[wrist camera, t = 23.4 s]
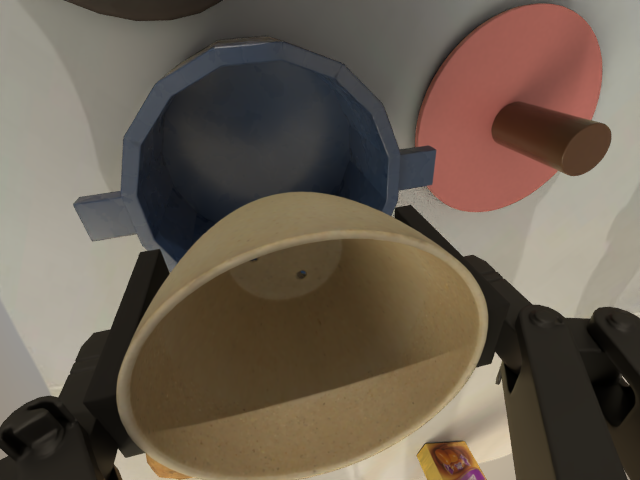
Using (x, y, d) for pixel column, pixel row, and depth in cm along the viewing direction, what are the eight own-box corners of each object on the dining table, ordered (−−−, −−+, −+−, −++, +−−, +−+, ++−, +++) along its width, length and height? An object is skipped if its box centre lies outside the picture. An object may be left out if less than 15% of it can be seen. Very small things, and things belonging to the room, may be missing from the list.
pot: (69, 53, 21) (-10, 67, 14) (392, 24, 24) (459, 24, 17) (154, 258, 30) (131, 331, 22) (384, 217, 33) (427, 270, 26)
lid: (420, 13, 24) (502, 9, 17) (621, -4, 27) (766, -14, 19) (405, 219, 33) (453, 273, 26) (555, 192, 36) (637, 234, 29)
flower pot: (278, 356, 19) (301, 507, 13) (108, 252, 14) (15, 431, 8) (427, 244, 17) (533, 363, 11) (299, 73, 12) (372, 126, 6)
